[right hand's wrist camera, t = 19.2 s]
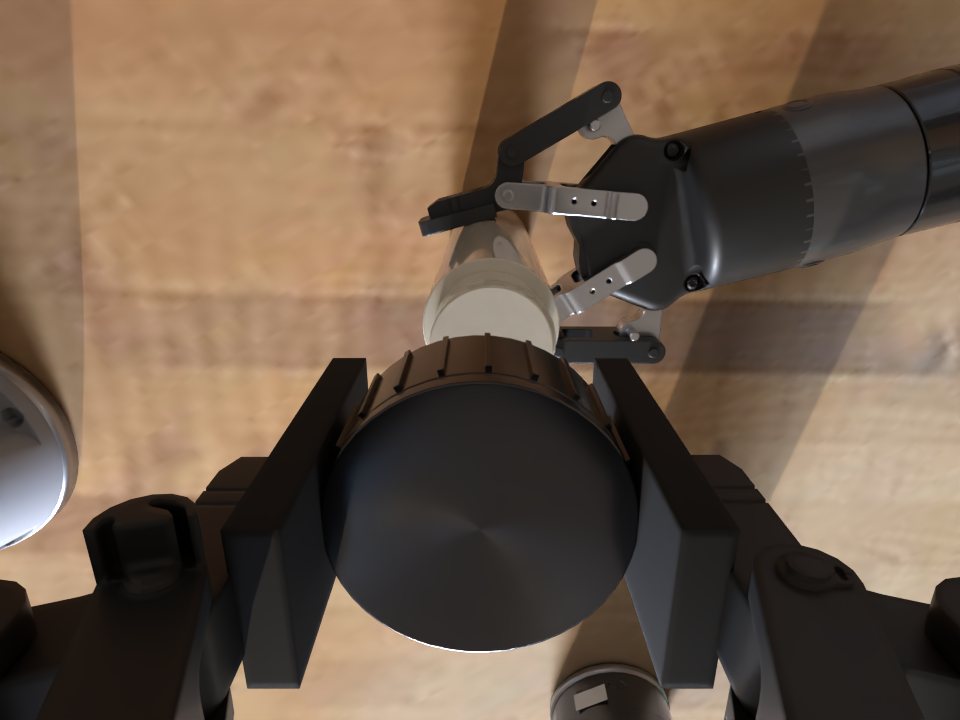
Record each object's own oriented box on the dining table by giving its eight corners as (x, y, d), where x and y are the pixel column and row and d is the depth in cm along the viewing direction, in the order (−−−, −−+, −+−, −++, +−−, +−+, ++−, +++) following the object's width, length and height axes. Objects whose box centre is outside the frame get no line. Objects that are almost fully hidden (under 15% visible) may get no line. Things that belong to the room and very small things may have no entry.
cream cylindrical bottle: (535, 271, 38) (580, 397, 19) (461, 289, 38) (438, 429, 20) (518, 194, 36) (550, 254, 18) (441, 214, 36) (396, 292, 18)
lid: (415, 280, 11) (399, 317, 9) (667, 407, 12) (710, 469, 10) (303, 507, 13) (267, 585, 11) (532, 604, 14) (543, 695, 11)
